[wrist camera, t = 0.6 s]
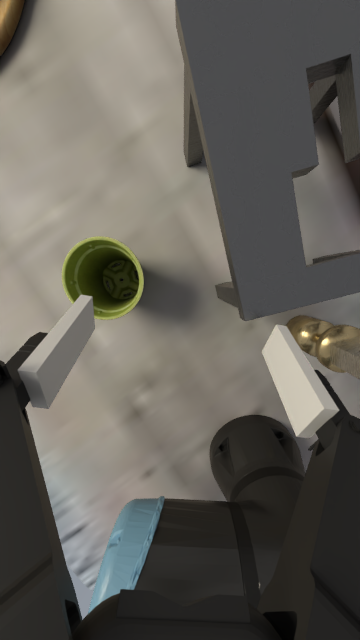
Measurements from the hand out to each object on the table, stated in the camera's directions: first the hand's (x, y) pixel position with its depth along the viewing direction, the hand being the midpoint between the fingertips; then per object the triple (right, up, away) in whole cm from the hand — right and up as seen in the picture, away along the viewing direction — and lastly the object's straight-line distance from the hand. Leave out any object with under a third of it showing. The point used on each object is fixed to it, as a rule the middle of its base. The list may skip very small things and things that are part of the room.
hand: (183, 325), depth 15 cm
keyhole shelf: (+11, +16, +15) cm, 25 cm away
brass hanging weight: (+19, -1, +19) cm, 27 cm away
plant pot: (-9, +7, +18) cm, 21 cm away
